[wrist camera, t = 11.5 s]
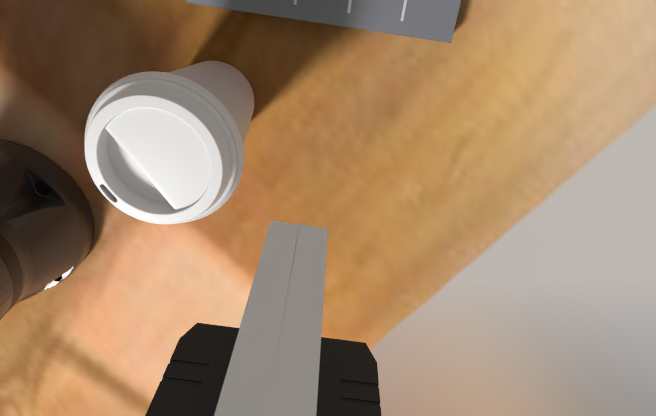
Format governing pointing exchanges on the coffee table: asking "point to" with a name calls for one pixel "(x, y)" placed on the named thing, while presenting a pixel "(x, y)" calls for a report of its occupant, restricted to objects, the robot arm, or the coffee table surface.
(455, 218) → the coffee table surface
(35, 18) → the coffee table surface
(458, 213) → the coffee table surface
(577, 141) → the coffee table surface
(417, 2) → the console
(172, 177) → the coffee cup
